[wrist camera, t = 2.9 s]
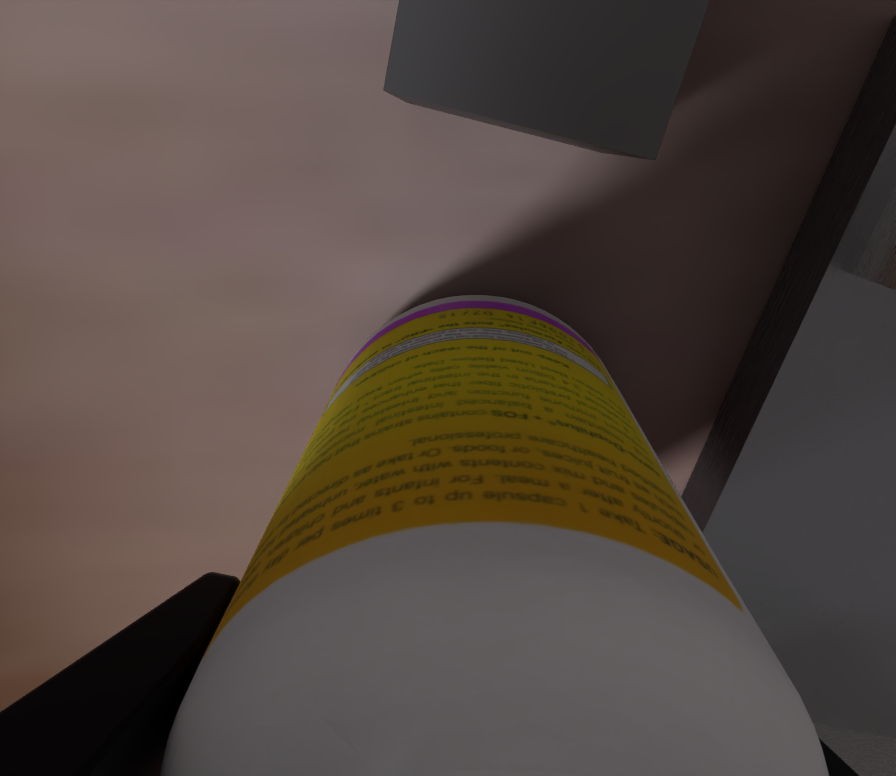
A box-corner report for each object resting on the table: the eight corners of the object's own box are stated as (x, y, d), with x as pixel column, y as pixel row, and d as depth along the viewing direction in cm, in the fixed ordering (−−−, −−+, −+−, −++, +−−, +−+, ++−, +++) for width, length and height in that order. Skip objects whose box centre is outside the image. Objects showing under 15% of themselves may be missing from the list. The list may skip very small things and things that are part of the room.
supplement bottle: (285, 353, 14) (-593, 1425, 2) (558, 239, 13) (1420, 1211, 1) (406, 572, 17) (259, 1681, 5) (648, 490, 15) (1260, 1684, 4)
